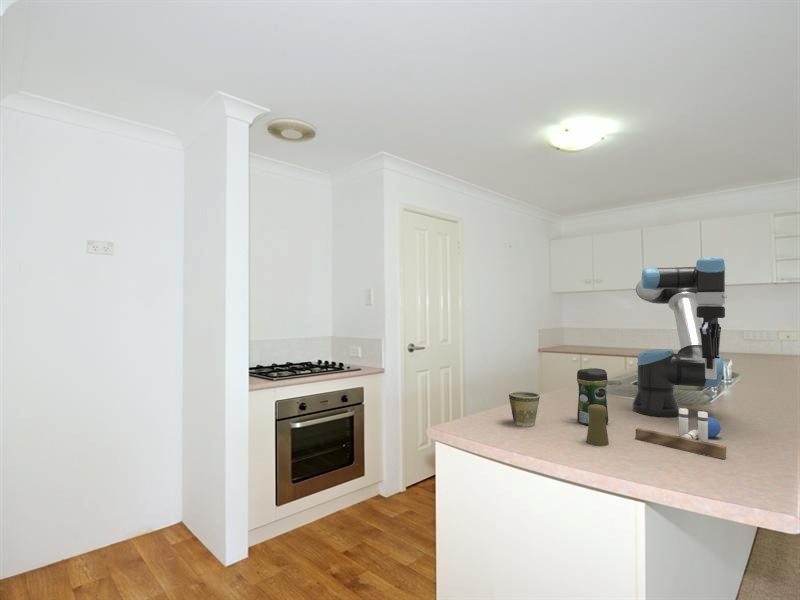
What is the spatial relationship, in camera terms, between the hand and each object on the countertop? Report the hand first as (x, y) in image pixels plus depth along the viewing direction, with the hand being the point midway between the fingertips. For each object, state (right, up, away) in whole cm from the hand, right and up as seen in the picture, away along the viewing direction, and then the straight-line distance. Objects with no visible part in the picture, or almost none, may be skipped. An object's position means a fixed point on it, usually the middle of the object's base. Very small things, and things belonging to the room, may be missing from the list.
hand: (710, 378), depth 141 cm
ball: (-6, -13, -8) cm, 17 cm away
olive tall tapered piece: (-43, -17, -13) cm, 48 cm away
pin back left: (-14, -16, -8) cm, 23 cm away
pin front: (-11, -15, -9) cm, 20 cm away
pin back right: (-11, -16, -12) cm, 23 cm away
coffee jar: (-35, -17, +8) cm, 39 cm away
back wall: (-22, -16, -18) cm, 33 cm away
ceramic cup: (-58, -17, +8) cm, 60 cm away
